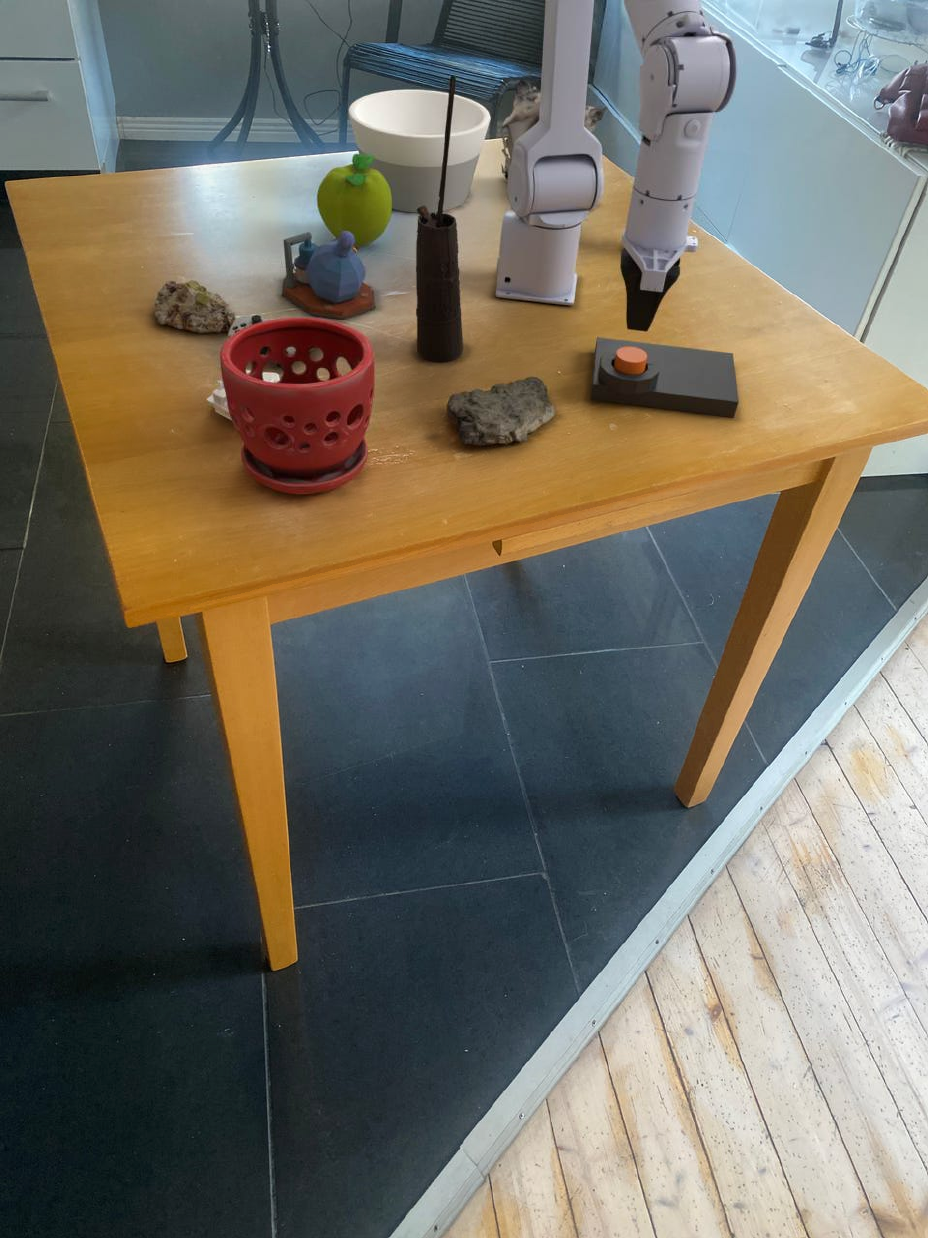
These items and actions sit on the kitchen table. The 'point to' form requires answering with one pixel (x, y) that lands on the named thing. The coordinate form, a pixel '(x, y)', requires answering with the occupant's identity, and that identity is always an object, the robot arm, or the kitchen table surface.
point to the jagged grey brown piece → (533, 118)
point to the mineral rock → (192, 308)
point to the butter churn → (438, 273)
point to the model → (327, 278)
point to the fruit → (355, 201)
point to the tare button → (630, 360)
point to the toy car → (219, 395)
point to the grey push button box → (667, 379)
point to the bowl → (420, 144)
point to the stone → (500, 412)
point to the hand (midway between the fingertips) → (637, 327)
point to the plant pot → (300, 403)
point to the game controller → (250, 320)
